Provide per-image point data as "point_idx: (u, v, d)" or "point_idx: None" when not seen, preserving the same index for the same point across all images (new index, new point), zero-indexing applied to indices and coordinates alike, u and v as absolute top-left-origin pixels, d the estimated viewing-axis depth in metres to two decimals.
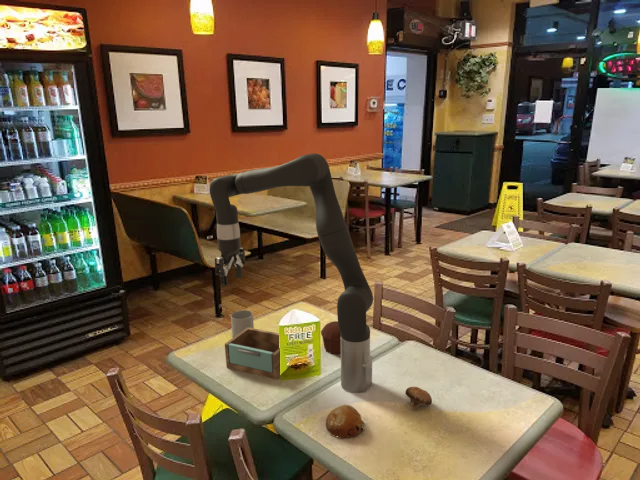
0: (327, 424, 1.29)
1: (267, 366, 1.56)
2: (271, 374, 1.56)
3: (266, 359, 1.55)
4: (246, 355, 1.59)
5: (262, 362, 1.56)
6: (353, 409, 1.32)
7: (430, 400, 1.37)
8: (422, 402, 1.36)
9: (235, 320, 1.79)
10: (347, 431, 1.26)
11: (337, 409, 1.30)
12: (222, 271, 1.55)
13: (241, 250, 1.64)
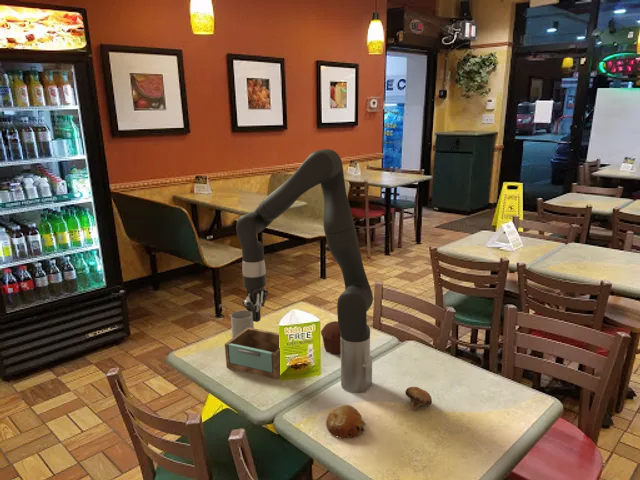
0: (328, 424, 1.29)
1: (267, 366, 1.56)
2: (271, 374, 1.56)
3: (266, 359, 1.55)
4: (246, 355, 1.59)
5: (262, 362, 1.56)
6: (354, 409, 1.32)
7: (430, 400, 1.37)
8: (422, 402, 1.36)
9: (235, 320, 1.79)
10: (348, 431, 1.26)
11: (338, 409, 1.30)
12: (254, 308, 1.56)
13: (265, 291, 1.62)
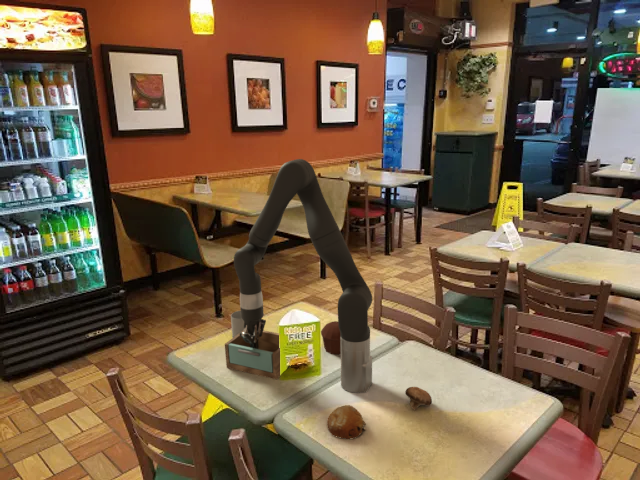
0: (328, 424, 1.29)
1: (267, 366, 1.56)
2: (271, 374, 1.56)
3: (266, 359, 1.55)
4: (246, 355, 1.59)
5: (262, 362, 1.56)
6: (354, 409, 1.32)
7: (430, 400, 1.37)
8: (422, 402, 1.36)
9: (235, 320, 1.79)
10: (348, 431, 1.26)
11: (338, 409, 1.30)
12: (252, 339, 1.57)
13: (263, 321, 1.62)
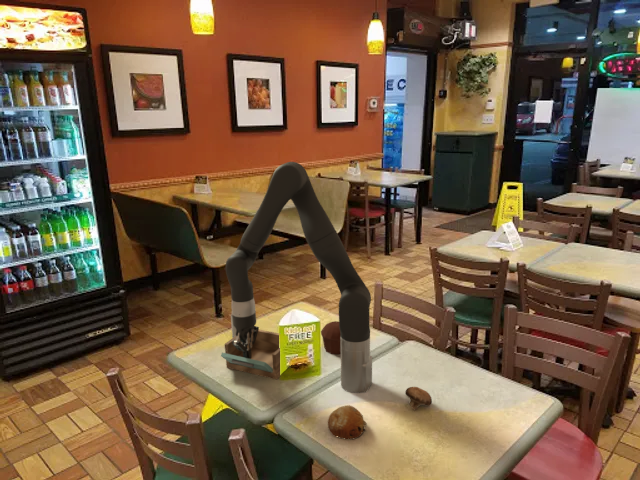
0: (329, 425, 1.29)
1: (265, 369, 1.55)
2: (271, 374, 1.56)
3: (261, 367, 1.53)
4: None
5: (259, 367, 1.55)
6: (355, 410, 1.32)
7: (430, 400, 1.37)
8: (422, 402, 1.36)
9: None
10: (349, 432, 1.26)
11: (339, 410, 1.30)
12: (245, 347, 1.53)
13: (256, 328, 1.59)
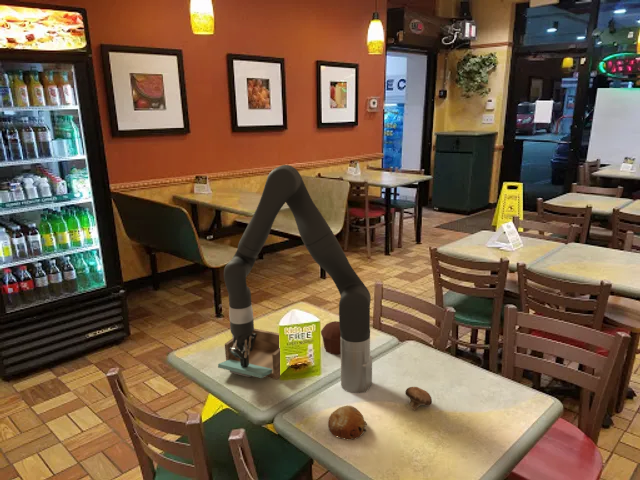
0: (329, 425, 1.29)
1: None
2: (271, 374, 1.56)
3: None
4: None
5: None
6: (355, 410, 1.31)
7: (430, 400, 1.37)
8: (422, 402, 1.36)
9: None
10: (350, 432, 1.26)
11: (339, 410, 1.30)
12: (242, 354, 1.52)
13: (253, 335, 1.58)
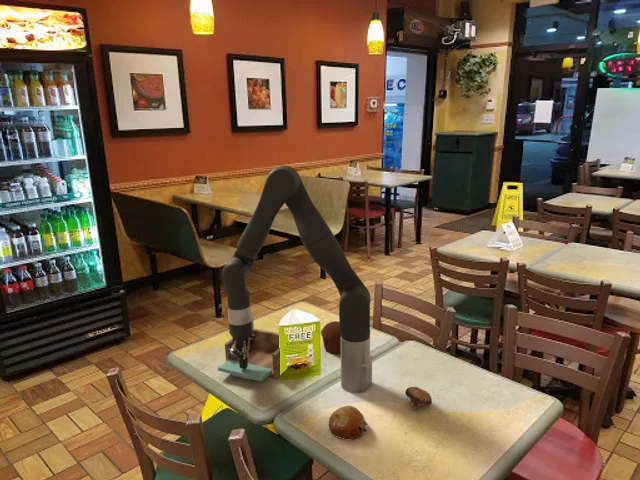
0: (330, 425, 1.29)
1: None
2: (271, 374, 1.56)
3: None
4: None
5: None
6: (356, 410, 1.31)
7: (430, 400, 1.37)
8: (422, 402, 1.36)
9: None
10: (350, 432, 1.26)
11: (340, 410, 1.30)
12: (241, 355, 1.51)
13: (252, 336, 1.57)
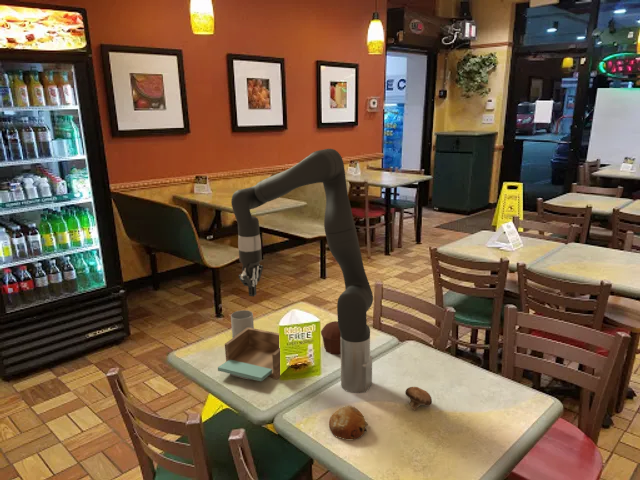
0: (330, 425, 1.29)
1: None
2: (271, 374, 1.56)
3: None
4: None
5: None
6: (356, 410, 1.31)
7: (430, 400, 1.37)
8: (422, 402, 1.36)
9: (235, 320, 1.79)
10: (350, 432, 1.26)
11: (340, 410, 1.30)
12: (250, 282, 1.59)
13: (260, 266, 1.65)
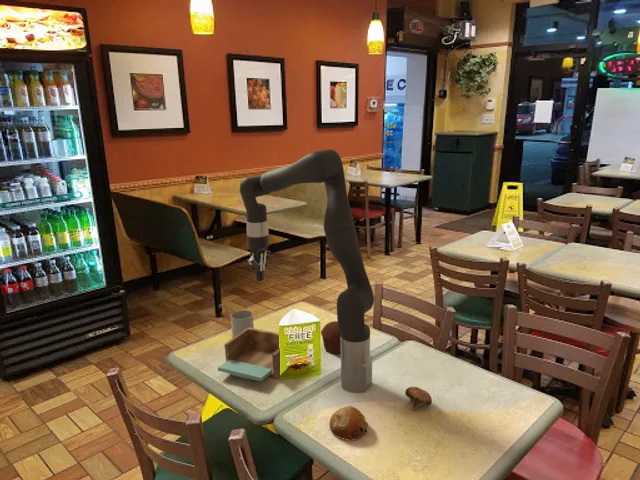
0: (331, 425, 1.29)
1: None
2: (271, 374, 1.56)
3: None
4: None
5: None
6: (357, 410, 1.31)
7: (430, 400, 1.37)
8: (422, 402, 1.36)
9: (235, 320, 1.79)
10: (351, 432, 1.25)
11: (341, 410, 1.30)
12: (258, 267, 1.65)
13: (268, 252, 1.71)
